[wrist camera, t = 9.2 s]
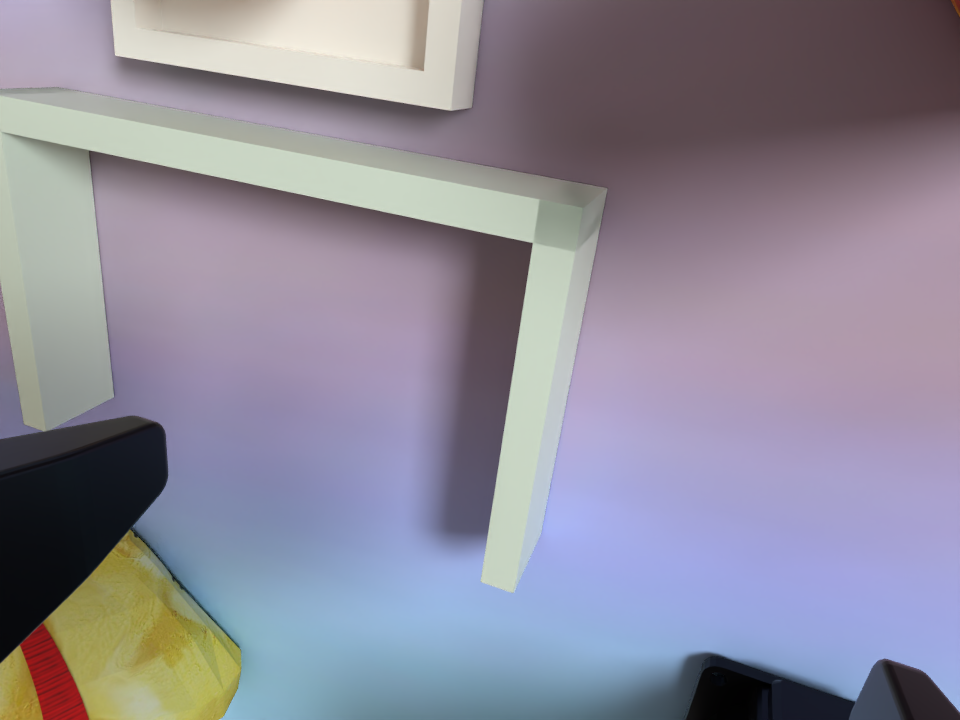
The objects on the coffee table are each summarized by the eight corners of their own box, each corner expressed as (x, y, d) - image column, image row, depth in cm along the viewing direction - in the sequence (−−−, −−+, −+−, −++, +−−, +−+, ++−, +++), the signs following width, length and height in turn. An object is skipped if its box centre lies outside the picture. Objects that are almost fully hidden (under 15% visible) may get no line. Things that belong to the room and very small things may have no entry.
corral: (541, 533, 23) (513, 593, 20) (93, 390, 28) (24, 424, 25) (607, 188, 18) (583, 207, 16) (58, 87, 23) (-32, 89, 20)
